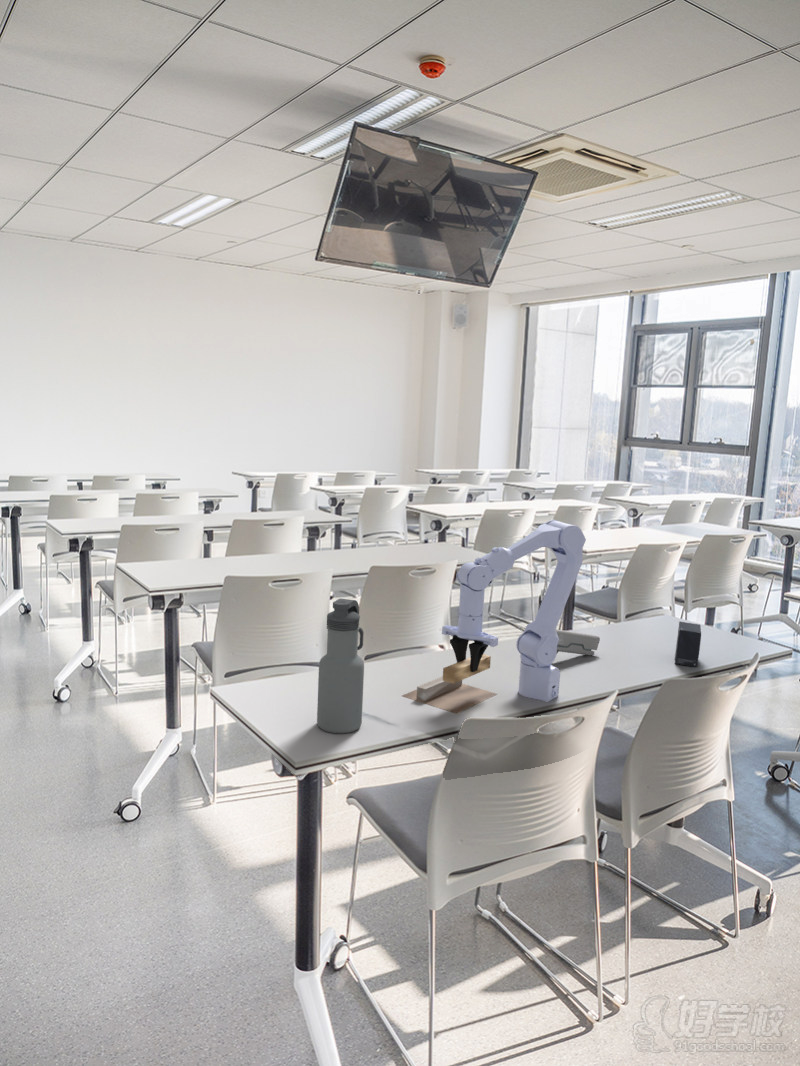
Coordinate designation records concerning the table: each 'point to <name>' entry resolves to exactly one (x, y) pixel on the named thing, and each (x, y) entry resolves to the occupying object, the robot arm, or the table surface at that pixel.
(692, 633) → the small box
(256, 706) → the table surface
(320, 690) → the water bottle
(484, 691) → the stand
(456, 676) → the oak bar
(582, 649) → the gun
